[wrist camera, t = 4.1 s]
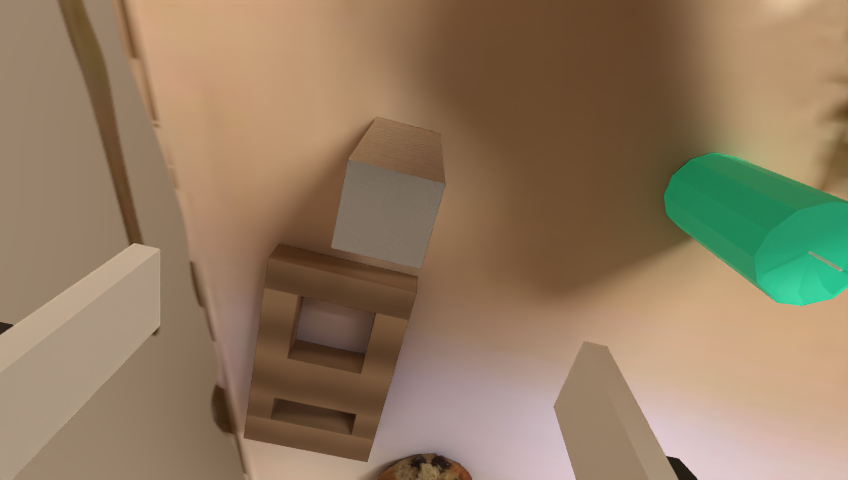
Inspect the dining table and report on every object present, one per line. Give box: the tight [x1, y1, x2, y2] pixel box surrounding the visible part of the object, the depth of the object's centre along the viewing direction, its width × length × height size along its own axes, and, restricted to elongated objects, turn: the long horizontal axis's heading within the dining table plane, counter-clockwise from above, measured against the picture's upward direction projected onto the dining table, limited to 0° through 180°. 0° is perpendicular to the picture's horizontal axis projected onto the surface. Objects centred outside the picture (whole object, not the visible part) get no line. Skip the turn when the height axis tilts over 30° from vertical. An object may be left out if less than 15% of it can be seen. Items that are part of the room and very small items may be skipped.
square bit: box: [331, 117, 446, 269], centre depth 27 cm, size 4×4×12 cm
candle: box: [664, 152, 848, 306], centre depth 28 cm, size 6×6×12 cm
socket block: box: [244, 244, 418, 462], centre depth 38 cm, size 18×11×2 cm, turn 165°
